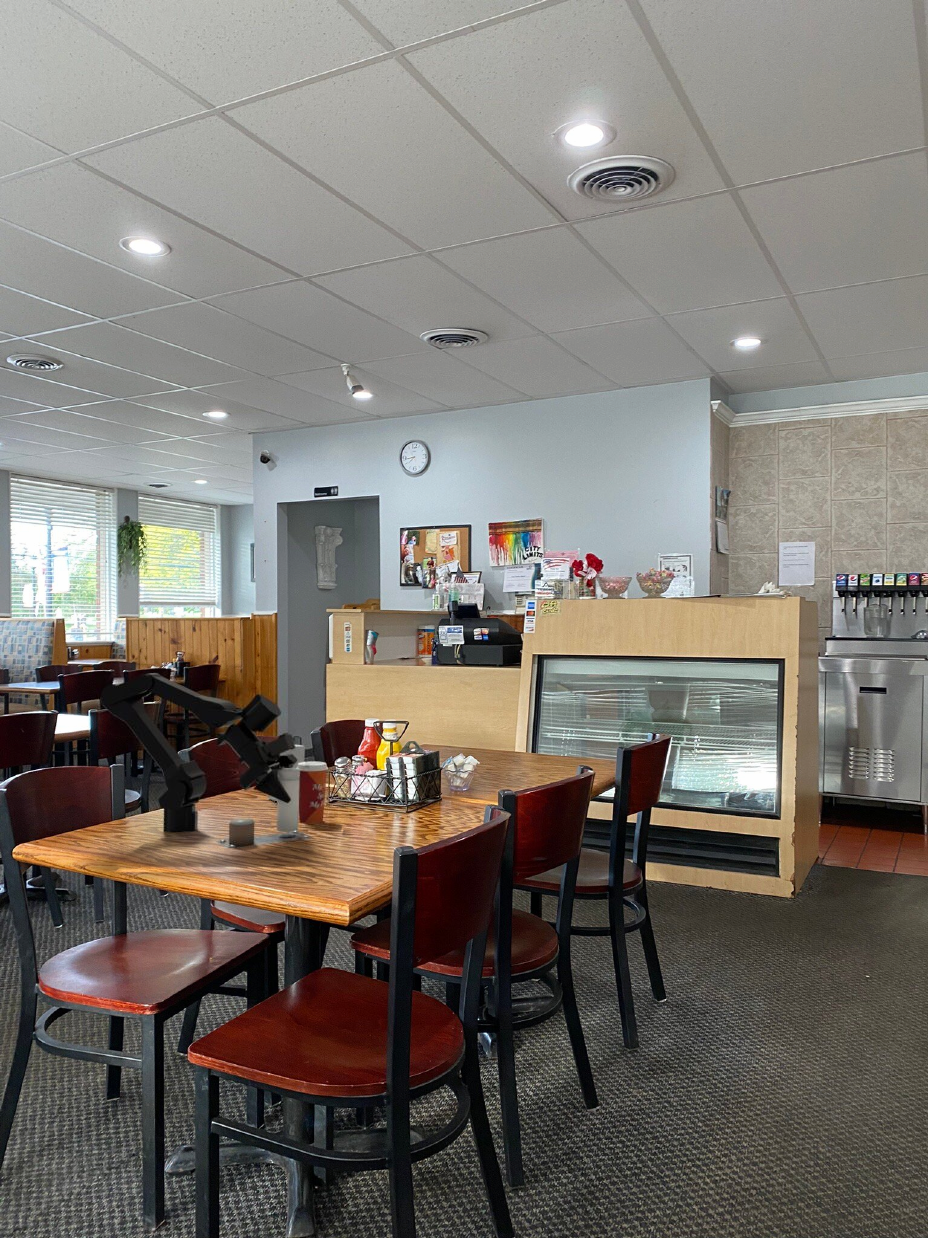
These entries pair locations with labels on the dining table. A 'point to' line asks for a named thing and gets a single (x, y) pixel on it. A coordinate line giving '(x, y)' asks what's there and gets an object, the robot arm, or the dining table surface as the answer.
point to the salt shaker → (290, 811)
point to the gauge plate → (269, 839)
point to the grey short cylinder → (241, 831)
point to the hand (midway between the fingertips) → (294, 799)
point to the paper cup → (312, 791)
